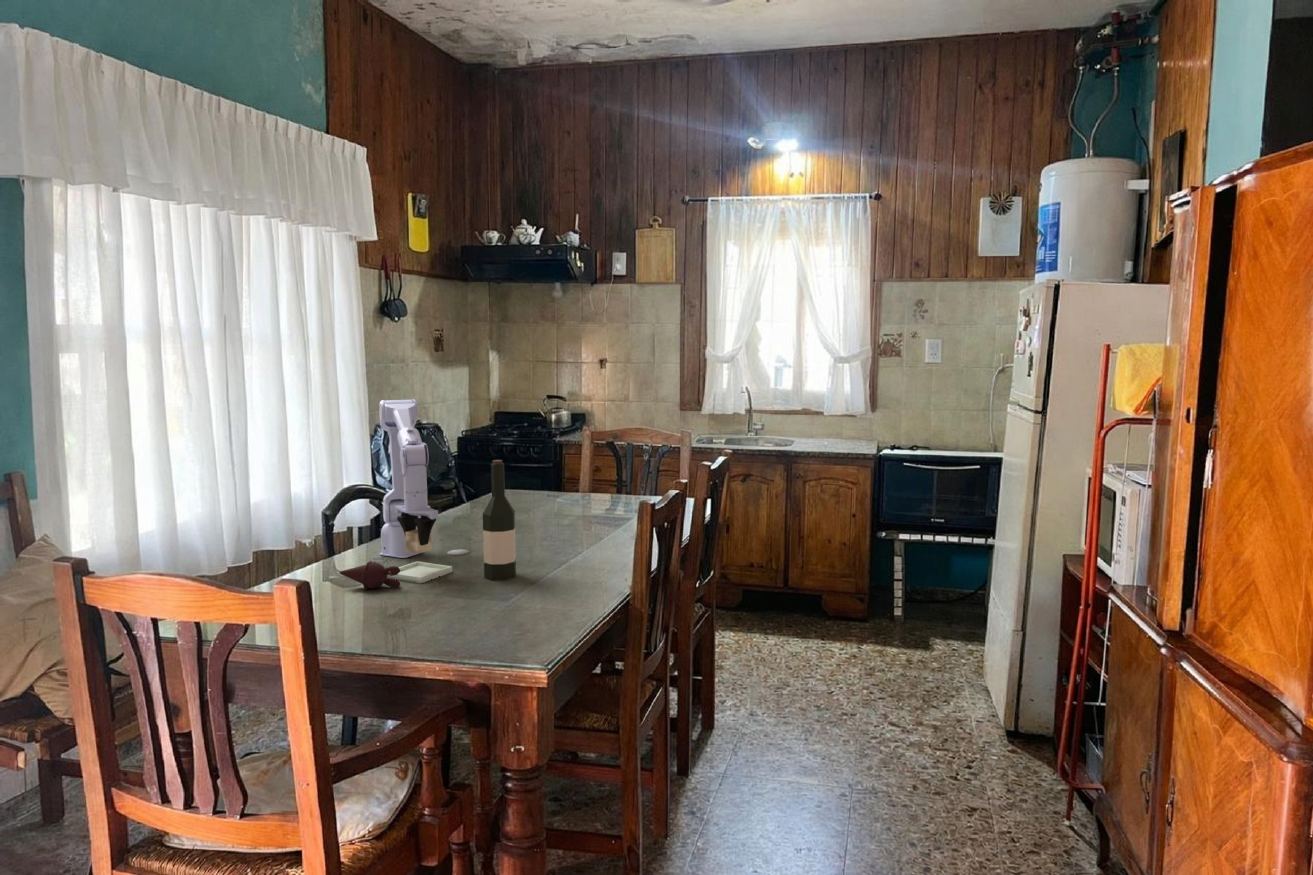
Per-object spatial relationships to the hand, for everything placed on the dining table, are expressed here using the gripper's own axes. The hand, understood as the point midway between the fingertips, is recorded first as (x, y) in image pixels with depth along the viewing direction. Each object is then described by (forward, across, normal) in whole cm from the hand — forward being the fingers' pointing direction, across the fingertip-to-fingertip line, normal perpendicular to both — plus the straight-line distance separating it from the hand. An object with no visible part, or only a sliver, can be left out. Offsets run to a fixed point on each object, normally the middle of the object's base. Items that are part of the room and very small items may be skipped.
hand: (417, 543), depth 222 cm
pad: (+8, +9, -22) cm, 25 cm away
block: (+2, 0, 0) cm, 2 cm away
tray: (+8, 0, 0) cm, 8 cm away
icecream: (+9, 0, +14) cm, 17 cm away
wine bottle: (+8, -19, -11) cm, 23 cm away
